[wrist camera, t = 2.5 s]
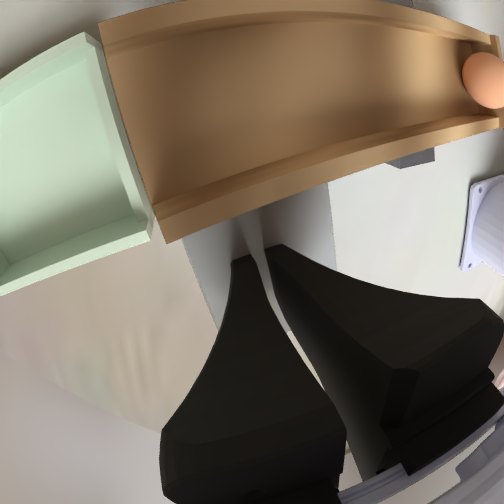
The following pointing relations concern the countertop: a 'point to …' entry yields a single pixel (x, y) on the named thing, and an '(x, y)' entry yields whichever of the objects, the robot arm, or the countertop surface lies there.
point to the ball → (485, 79)
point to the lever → (280, 115)
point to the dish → (65, 167)
